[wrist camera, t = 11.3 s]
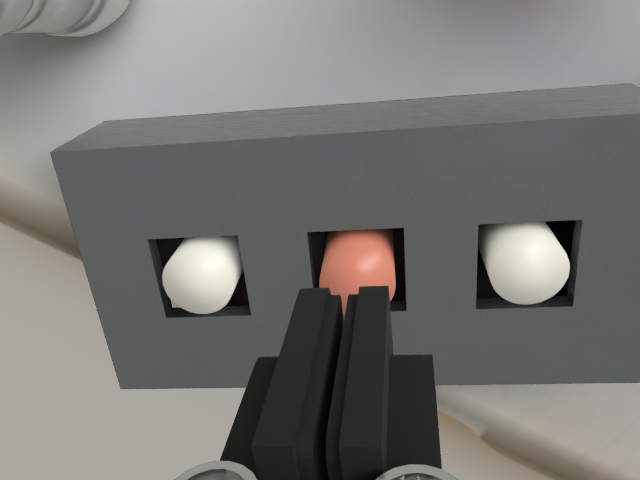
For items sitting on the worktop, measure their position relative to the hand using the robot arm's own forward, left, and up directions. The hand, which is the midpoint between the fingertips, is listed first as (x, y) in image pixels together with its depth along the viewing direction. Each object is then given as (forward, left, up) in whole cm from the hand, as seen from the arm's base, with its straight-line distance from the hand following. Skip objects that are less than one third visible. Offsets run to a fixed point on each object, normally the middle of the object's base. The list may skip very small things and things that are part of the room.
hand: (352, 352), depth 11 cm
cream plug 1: (+9, +7, -21) cm, 24 cm away
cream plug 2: (-7, +7, -21) cm, 23 cm away
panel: (+1, +7, -22) cm, 23 cm away
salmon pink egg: (+1, +7, -21) cm, 22 cm away
